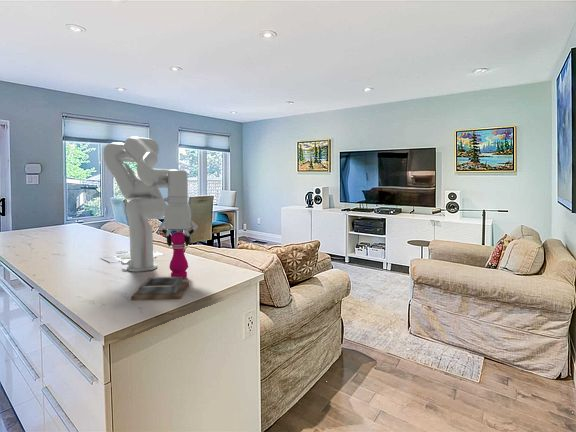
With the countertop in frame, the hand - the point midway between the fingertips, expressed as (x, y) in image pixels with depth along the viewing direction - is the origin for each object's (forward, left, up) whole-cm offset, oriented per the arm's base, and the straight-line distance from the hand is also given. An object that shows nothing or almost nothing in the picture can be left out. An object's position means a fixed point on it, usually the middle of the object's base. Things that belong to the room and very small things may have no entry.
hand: (178, 245), depth 141 cm
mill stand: (-3, -17, -14) cm, 22 cm away
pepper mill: (0, 0, -13) cm, 13 cm away
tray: (-32, +44, -15) cm, 56 cm away
